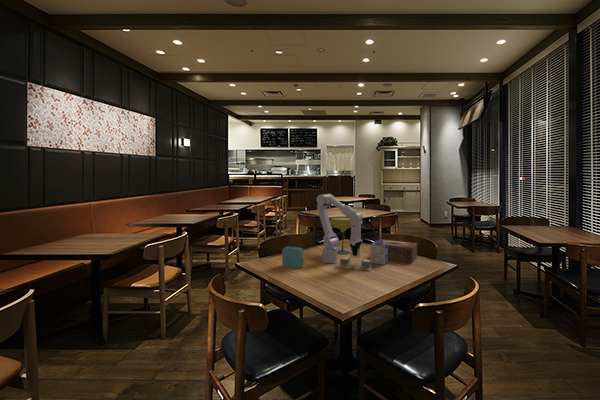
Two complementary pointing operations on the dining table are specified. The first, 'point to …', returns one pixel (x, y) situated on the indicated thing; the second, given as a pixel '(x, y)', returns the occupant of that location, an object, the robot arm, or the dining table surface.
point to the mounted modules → (363, 263)
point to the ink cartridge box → (379, 253)
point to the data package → (292, 257)
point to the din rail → (355, 265)
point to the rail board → (355, 267)
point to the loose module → (357, 253)
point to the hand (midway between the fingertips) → (355, 254)
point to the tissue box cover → (401, 250)
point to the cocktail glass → (341, 228)
